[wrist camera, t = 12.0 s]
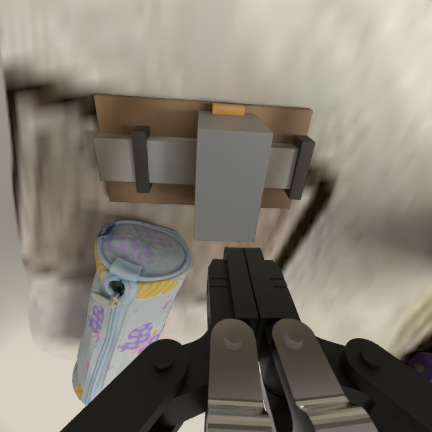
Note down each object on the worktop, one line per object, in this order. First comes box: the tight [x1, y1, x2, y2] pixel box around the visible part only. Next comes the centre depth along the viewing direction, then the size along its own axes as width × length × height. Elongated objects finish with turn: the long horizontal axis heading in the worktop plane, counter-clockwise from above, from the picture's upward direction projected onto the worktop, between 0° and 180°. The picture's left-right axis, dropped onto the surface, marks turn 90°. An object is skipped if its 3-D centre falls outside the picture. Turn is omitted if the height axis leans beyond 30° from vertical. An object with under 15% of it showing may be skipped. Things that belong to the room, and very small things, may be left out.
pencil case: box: [72, 220, 192, 406], centre depth 28 cm, size 21×9×10 cm, turn 160°
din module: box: [194, 103, 273, 242], centre depth 20 cm, size 4×9×6 cm, turn 176°
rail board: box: [93, 94, 315, 209], centre depth 22 cm, size 17×9×3 cm, turn 86°
